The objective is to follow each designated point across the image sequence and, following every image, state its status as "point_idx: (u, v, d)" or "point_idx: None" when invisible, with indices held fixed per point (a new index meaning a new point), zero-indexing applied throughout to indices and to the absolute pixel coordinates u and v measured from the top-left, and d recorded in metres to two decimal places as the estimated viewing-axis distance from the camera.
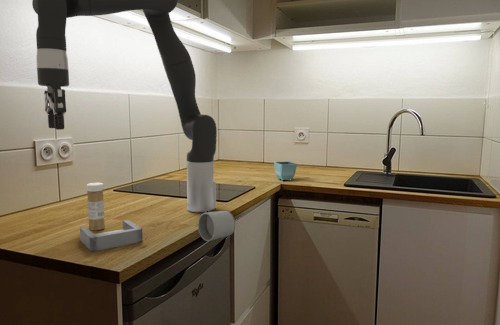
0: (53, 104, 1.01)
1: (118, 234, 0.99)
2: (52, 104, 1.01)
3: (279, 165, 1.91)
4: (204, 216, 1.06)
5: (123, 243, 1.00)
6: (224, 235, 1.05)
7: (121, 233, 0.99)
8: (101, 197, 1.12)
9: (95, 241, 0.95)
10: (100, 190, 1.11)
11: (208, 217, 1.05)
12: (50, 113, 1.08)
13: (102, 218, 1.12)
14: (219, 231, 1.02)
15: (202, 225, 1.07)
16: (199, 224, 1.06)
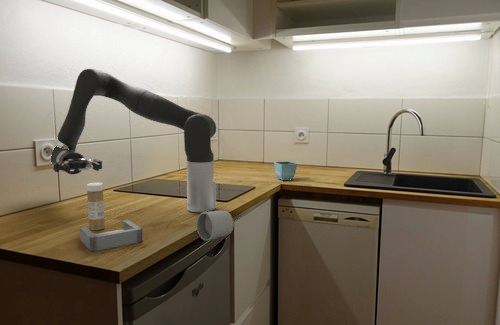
0: None
1: (118, 234, 0.99)
2: None
3: (279, 165, 1.91)
4: (203, 216, 1.07)
5: (123, 243, 1.00)
6: (222, 234, 1.05)
7: (121, 233, 0.99)
8: (101, 197, 1.12)
9: (95, 241, 0.95)
10: (100, 190, 1.11)
11: (207, 217, 1.05)
12: None
13: (102, 218, 1.12)
14: (217, 231, 1.02)
15: (201, 225, 1.08)
16: (198, 223, 1.07)
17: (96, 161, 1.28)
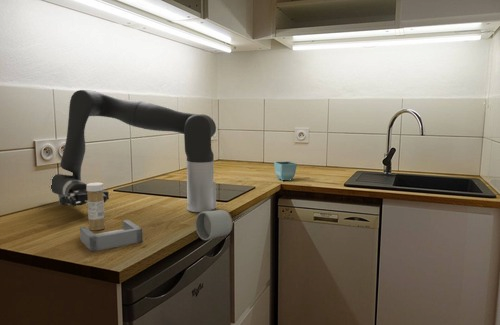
0: None
1: (118, 234, 0.99)
2: None
3: (279, 165, 1.91)
4: (201, 215, 1.07)
5: (123, 243, 1.00)
6: (221, 234, 1.05)
7: (121, 233, 0.99)
8: (101, 197, 1.12)
9: (95, 241, 0.95)
10: (100, 190, 1.11)
11: (205, 216, 1.06)
12: None
13: (102, 218, 1.12)
14: (216, 230, 1.03)
15: (200, 224, 1.08)
16: (197, 223, 1.07)
17: None
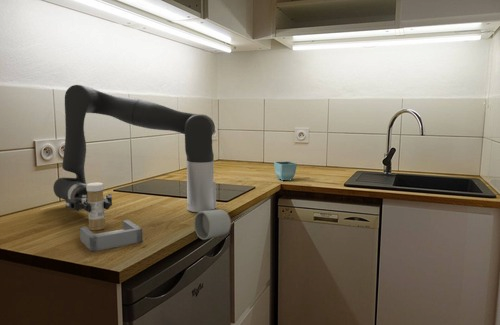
0: None
1: (118, 234, 0.99)
2: None
3: (279, 165, 1.91)
4: (200, 215, 1.07)
5: (123, 243, 1.00)
6: (220, 233, 1.06)
7: (121, 233, 0.99)
8: (101, 197, 1.12)
9: (95, 241, 0.95)
10: (100, 190, 1.11)
11: (204, 216, 1.06)
12: None
13: (102, 218, 1.12)
14: (214, 230, 1.03)
15: (199, 224, 1.08)
16: (195, 223, 1.08)
17: (107, 197, 1.18)
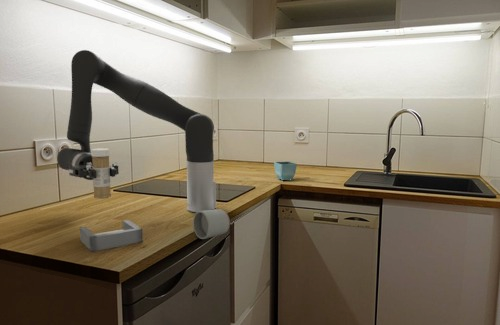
0: None
1: (118, 234, 0.99)
2: None
3: (279, 165, 1.91)
4: (199, 214, 1.08)
5: (123, 243, 1.00)
6: (218, 233, 1.06)
7: (121, 233, 0.99)
8: (107, 163, 1.05)
9: (95, 241, 0.95)
10: (106, 156, 1.04)
11: (203, 215, 1.07)
12: None
13: (108, 186, 1.05)
14: (213, 229, 1.04)
15: (198, 223, 1.09)
16: (194, 222, 1.08)
17: (113, 165, 1.11)
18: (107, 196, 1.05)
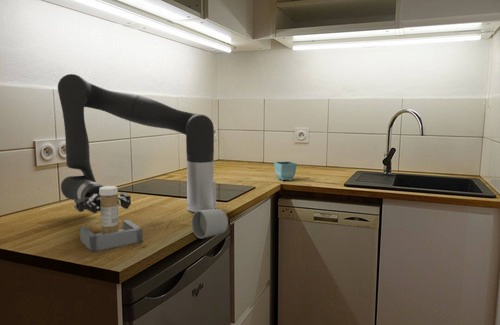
0: None
1: (118, 234, 0.99)
2: None
3: (279, 165, 1.91)
4: (198, 214, 1.08)
5: (123, 243, 1.00)
6: (217, 232, 1.07)
7: (121, 233, 0.99)
8: (115, 202, 1.02)
9: (95, 241, 0.95)
10: (114, 194, 1.01)
11: (201, 215, 1.07)
12: (121, 203, 1.06)
13: (116, 225, 1.03)
14: (211, 228, 1.04)
15: (196, 223, 1.09)
16: (193, 222, 1.09)
17: (124, 196, 1.09)
18: None
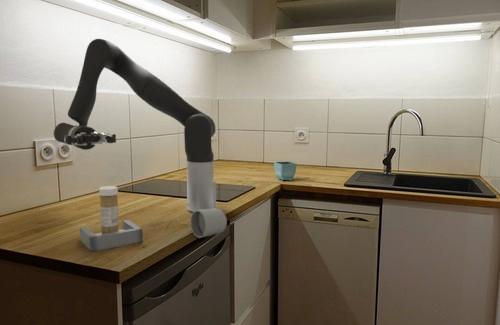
0: None
1: (118, 234, 0.99)
2: None
3: (279, 165, 1.91)
4: (196, 213, 1.09)
5: (123, 243, 1.00)
6: (216, 232, 1.07)
7: (121, 233, 0.99)
8: (115, 202, 1.02)
9: (95, 241, 0.95)
10: (114, 194, 1.01)
11: (200, 214, 1.08)
12: (107, 140, 1.19)
13: (116, 225, 1.02)
14: (210, 228, 1.05)
15: (195, 222, 1.10)
16: (191, 221, 1.09)
17: (109, 135, 1.22)
18: None
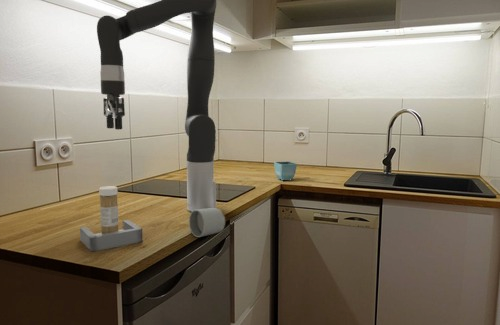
0: (114, 109, 1.26)
1: (118, 234, 0.99)
2: (113, 109, 1.26)
3: (279, 165, 1.91)
4: (195, 213, 1.09)
5: (123, 243, 1.00)
6: (214, 231, 1.08)
7: (121, 233, 0.99)
8: (115, 202, 1.02)
9: (95, 241, 0.95)
10: (114, 194, 1.01)
11: (199, 214, 1.08)
12: (108, 116, 1.33)
13: (116, 225, 1.02)
14: (208, 227, 1.05)
15: (193, 222, 1.10)
16: (190, 221, 1.10)
17: None
18: None
